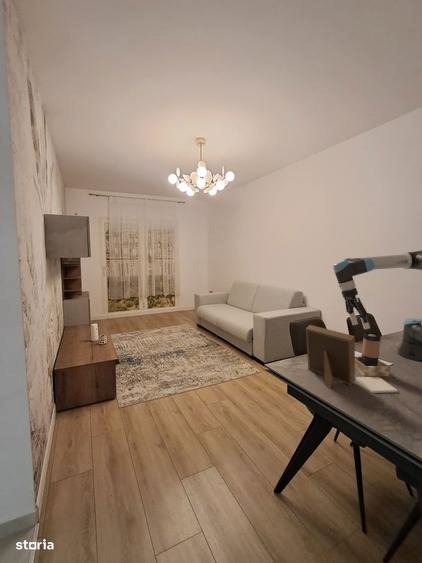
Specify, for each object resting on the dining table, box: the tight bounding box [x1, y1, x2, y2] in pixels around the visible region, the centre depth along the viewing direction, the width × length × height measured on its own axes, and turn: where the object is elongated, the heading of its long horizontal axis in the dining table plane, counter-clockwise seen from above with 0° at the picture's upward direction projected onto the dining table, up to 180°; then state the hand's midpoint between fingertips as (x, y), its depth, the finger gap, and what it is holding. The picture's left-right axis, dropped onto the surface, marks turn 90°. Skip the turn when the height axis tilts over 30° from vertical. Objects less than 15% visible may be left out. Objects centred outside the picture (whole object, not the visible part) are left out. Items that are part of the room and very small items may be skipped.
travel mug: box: [361, 331, 381, 366], centre depth 136 cm, size 8×8×20 cm
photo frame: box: [305, 324, 356, 389], centre depth 126 cm, size 15×22×25 cm
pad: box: [355, 376, 398, 394], centre depth 122 cm, size 12×12×1 cm
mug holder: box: [355, 355, 391, 377], centre depth 137 cm, size 13×13×5 cm
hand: (361, 326), depth 138 cm, fingers open, 13 cm apart
